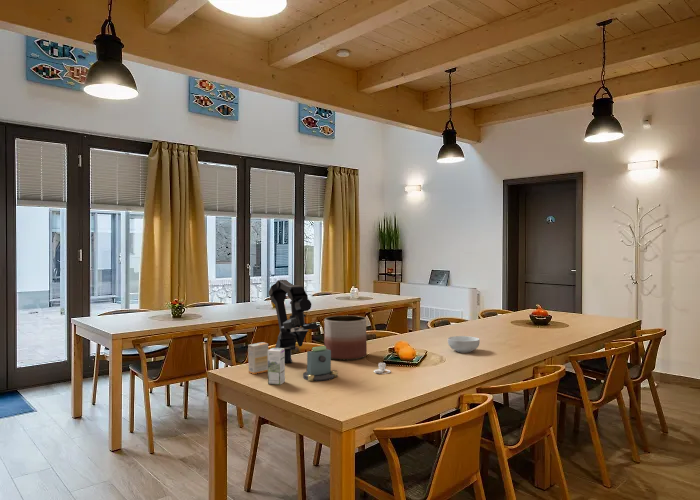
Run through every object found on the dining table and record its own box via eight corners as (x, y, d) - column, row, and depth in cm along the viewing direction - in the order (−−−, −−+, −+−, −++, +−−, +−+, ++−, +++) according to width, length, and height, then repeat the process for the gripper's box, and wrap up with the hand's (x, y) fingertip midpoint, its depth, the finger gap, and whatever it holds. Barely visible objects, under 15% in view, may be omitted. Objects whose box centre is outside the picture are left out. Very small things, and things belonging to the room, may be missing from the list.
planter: (334, 363, 249) (333, 322, 249) (318, 354, 269) (318, 316, 269) (373, 358, 258) (373, 319, 258) (355, 350, 278) (355, 314, 278)
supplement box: (262, 369, 237) (262, 341, 236) (268, 371, 233) (268, 343, 233) (247, 372, 231) (247, 344, 231) (253, 374, 227) (253, 345, 227)
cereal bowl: (477, 348, 282) (477, 335, 282) (481, 354, 265) (481, 341, 265) (446, 347, 284) (446, 335, 284) (449, 354, 267) (449, 341, 267)
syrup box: (285, 381, 216) (285, 347, 216) (280, 385, 210) (280, 350, 210) (272, 380, 217) (272, 347, 217) (267, 384, 211) (267, 350, 211)
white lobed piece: (378, 375, 226) (378, 366, 226) (368, 372, 233) (368, 363, 233) (394, 373, 231) (394, 364, 231) (384, 369, 237) (383, 360, 237)
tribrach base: (295, 375, 226) (295, 369, 226) (323, 370, 234) (323, 365, 234) (312, 383, 213) (312, 377, 213) (341, 377, 221) (341, 372, 221)
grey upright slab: (307, 374, 222) (307, 347, 221) (326, 370, 227) (326, 344, 227) (313, 377, 217) (313, 349, 217) (333, 373, 223) (333, 346, 222)
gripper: (271, 315, 236) (273, 349, 233) (300, 311, 225) (303, 346, 222) (288, 314, 244) (290, 346, 242) (316, 310, 233) (319, 344, 231)
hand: (300, 346), depth 234 cm, fingers closed
